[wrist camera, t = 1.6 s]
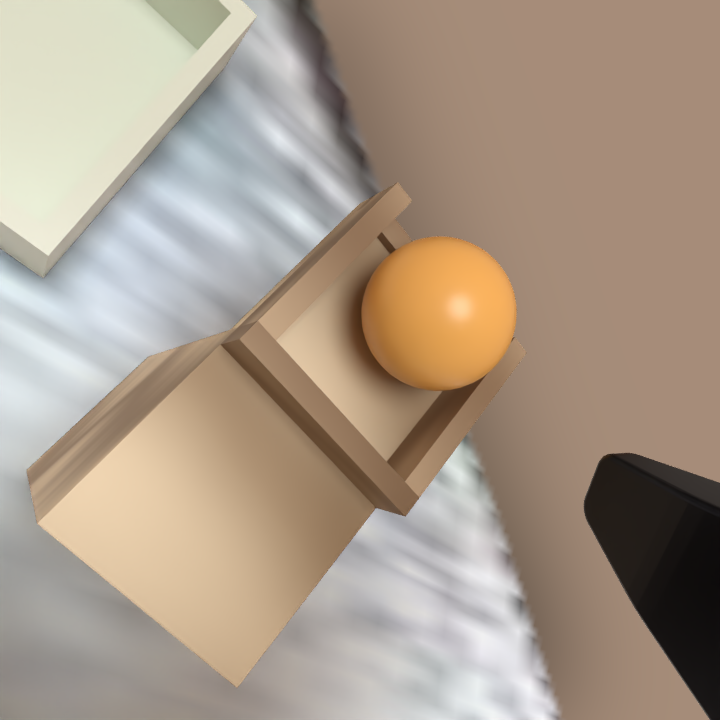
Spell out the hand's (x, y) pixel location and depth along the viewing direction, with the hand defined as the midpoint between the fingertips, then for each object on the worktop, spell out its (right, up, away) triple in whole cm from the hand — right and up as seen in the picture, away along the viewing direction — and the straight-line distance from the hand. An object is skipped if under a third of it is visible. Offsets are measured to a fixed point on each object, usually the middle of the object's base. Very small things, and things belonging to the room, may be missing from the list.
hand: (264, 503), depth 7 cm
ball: (+3, +3, +6) cm, 7 cm away
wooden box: (-5, 0, +14) cm, 15 cm away
